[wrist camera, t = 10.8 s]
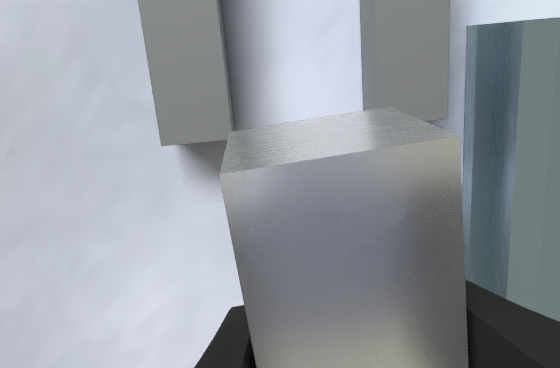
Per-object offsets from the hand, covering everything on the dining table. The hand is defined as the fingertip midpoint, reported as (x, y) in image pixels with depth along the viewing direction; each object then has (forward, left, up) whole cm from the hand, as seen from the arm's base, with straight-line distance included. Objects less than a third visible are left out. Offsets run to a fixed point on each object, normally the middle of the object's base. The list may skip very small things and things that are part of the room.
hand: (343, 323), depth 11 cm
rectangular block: (0, 0, -1) cm, 1 cm away
